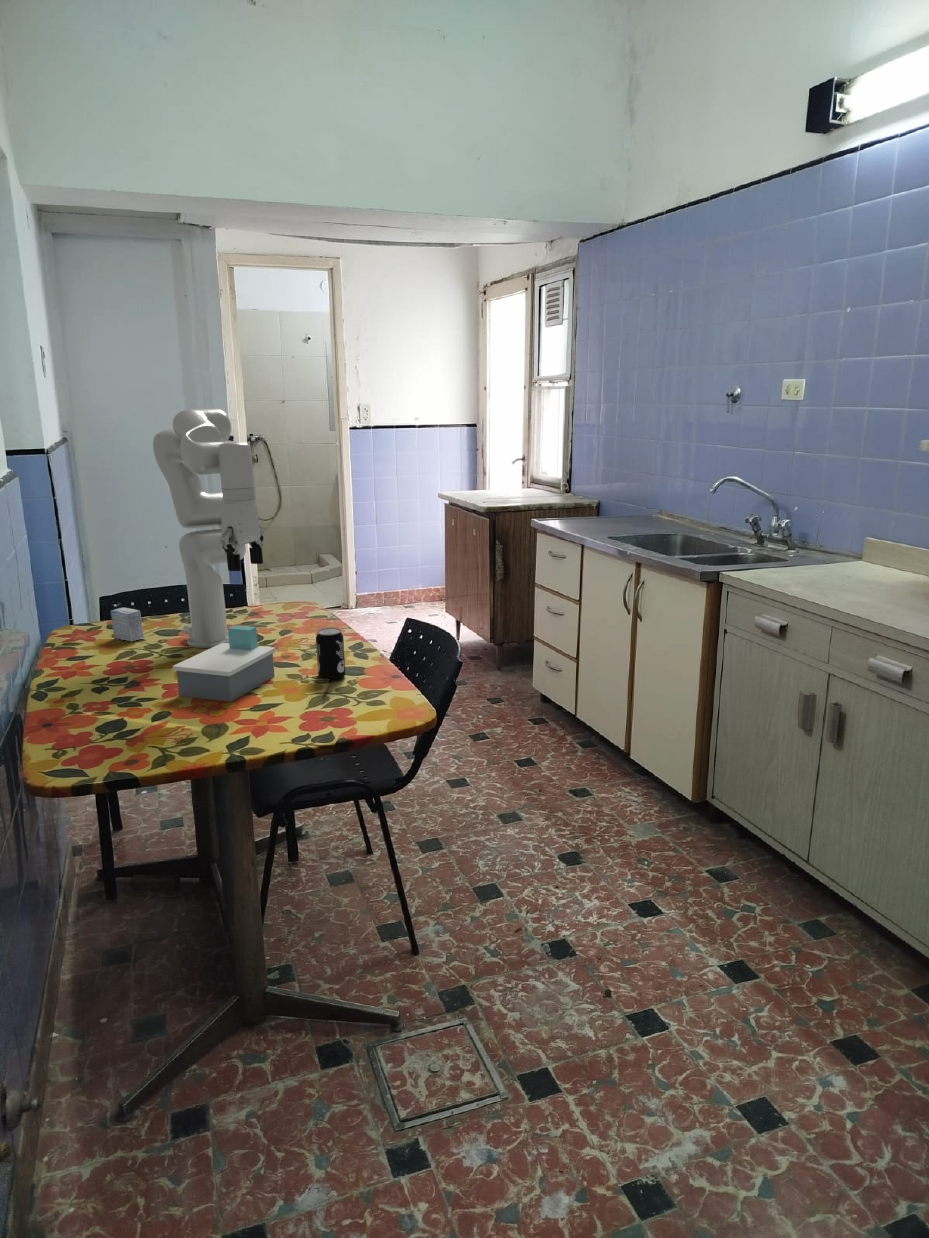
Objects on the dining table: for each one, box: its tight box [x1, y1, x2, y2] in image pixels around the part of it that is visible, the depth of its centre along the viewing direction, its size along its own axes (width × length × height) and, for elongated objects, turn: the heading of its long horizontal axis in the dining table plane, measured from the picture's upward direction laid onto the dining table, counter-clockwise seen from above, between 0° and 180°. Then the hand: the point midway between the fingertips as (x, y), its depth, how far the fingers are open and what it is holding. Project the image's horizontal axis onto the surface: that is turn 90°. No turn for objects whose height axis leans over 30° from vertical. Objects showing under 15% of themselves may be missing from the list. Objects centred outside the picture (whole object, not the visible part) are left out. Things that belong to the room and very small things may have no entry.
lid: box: [172, 624, 276, 676], centre depth 191 cm, size 15×19×7 cm
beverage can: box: [315, 627, 346, 682], centre depth 198 cm, size 7×7×12 cm
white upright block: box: [110, 607, 145, 642], centre depth 235 cm, size 8×4×9 cm, turn 58°
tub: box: [176, 653, 276, 703], centre depth 193 cm, size 14×18×7 cm
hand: (246, 567), depth 197 cm, fingers open, 9 cm apart
